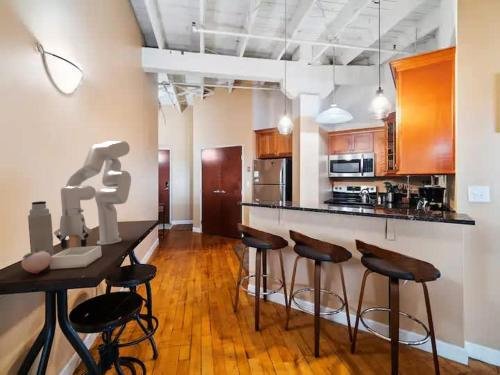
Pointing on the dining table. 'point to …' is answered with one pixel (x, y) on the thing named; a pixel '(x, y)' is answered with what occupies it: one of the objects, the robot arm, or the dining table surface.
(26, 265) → the decorative fruit
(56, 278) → the dining table surface
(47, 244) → the thermos bottle
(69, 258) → the tub
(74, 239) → the peg
